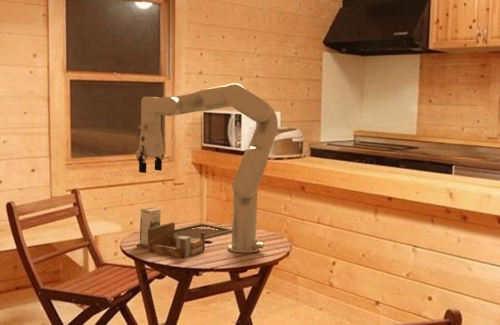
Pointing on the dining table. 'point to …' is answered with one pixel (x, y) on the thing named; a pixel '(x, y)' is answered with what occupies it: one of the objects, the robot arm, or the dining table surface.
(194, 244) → the offcut slab
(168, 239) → the brown wooden open box
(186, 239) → the offcut block
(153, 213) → the syrup box
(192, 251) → the offcut slab
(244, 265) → the dining table surface
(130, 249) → the dining table surface
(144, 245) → the mat
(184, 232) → the brown framed board
